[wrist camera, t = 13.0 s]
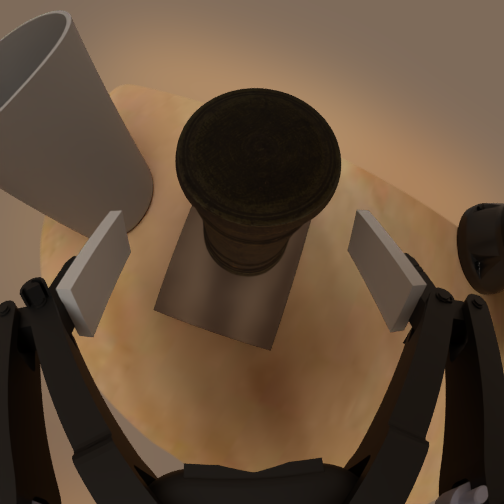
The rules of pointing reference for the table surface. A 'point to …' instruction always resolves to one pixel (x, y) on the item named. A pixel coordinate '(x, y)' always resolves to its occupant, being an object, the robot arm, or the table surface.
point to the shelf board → (227, 289)
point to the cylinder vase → (65, 131)
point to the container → (256, 174)
